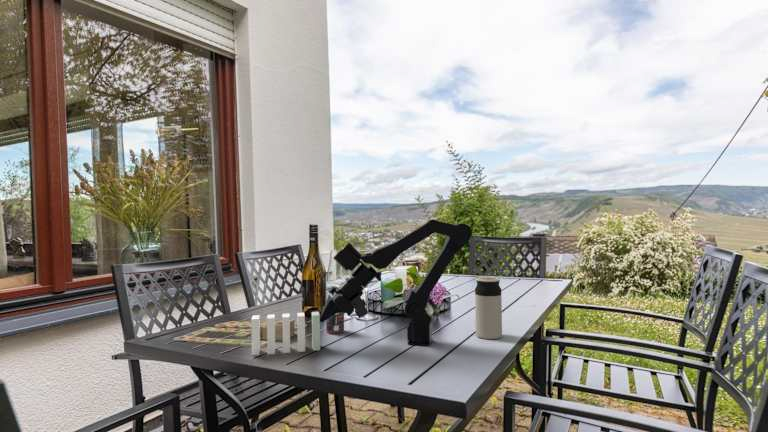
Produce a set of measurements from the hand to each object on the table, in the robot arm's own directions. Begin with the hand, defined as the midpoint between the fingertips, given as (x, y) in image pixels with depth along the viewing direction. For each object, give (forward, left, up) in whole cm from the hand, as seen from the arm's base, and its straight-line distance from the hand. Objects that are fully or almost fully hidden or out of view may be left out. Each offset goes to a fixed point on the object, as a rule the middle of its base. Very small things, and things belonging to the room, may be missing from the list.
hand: (320, 321), depth 130 cm
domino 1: (+16, +9, -8) cm, 20 cm away
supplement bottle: (+3, -17, -8) cm, 19 cm away
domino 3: (+8, +5, -8) cm, 12 cm away
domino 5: (+1, +1, -8) cm, 8 cm away
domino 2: (+12, +7, -8) cm, 16 cm away
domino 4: (+5, +3, -8) cm, 9 cm away
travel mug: (-46, -24, -8) cm, 52 cm away
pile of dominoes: (+32, -8, -8) cm, 34 cm away
